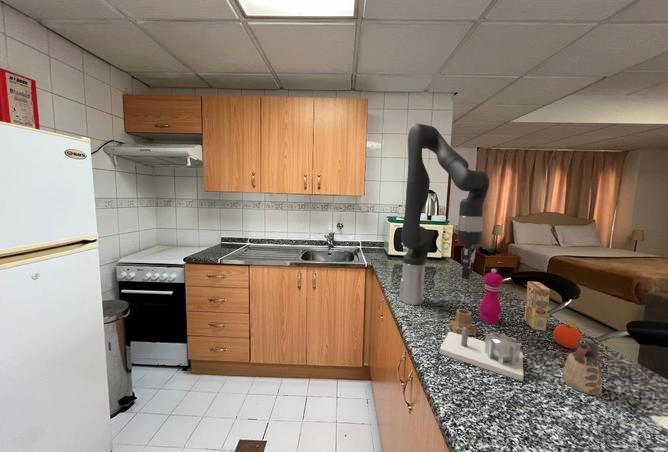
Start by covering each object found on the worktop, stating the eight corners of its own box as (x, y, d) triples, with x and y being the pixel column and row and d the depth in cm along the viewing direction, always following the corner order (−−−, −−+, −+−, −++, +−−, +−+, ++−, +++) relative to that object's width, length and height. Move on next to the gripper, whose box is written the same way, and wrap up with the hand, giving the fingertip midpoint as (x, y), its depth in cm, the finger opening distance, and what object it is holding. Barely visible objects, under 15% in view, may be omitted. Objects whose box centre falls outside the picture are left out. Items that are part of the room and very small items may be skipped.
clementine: (565, 339, 89) (568, 319, 88) (589, 351, 82) (592, 329, 81) (546, 341, 87) (549, 320, 86) (569, 353, 80) (572, 331, 80)
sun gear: (483, 358, 74) (484, 341, 73) (486, 345, 81) (487, 329, 80) (518, 369, 69) (520, 351, 69) (518, 355, 76) (520, 338, 76)
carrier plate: (439, 353, 78) (441, 330, 78) (448, 335, 89) (450, 315, 88) (522, 381, 67) (525, 354, 66) (522, 357, 78) (524, 333, 77)
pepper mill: (503, 325, 98) (509, 272, 96) (482, 323, 99) (487, 270, 97) (495, 317, 105) (500, 267, 103) (475, 315, 106) (480, 265, 104)
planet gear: (446, 330, 92) (447, 312, 92) (451, 321, 99) (452, 304, 99) (474, 338, 87) (476, 319, 87) (478, 328, 95) (479, 311, 94)
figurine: (608, 391, 64) (615, 344, 63) (589, 398, 62) (596, 349, 61) (573, 373, 71) (579, 330, 70) (555, 378, 69) (561, 334, 67)
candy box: (546, 331, 94) (551, 289, 93) (532, 329, 95) (536, 287, 94) (536, 321, 103) (540, 282, 101) (523, 319, 104) (527, 280, 102)
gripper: (460, 227, 100) (458, 270, 101) (454, 230, 88) (451, 278, 89) (483, 228, 96) (481, 273, 97) (480, 231, 84) (477, 282, 85)
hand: (467, 276), depth 93 cm, fingers open, 8 cm apart
